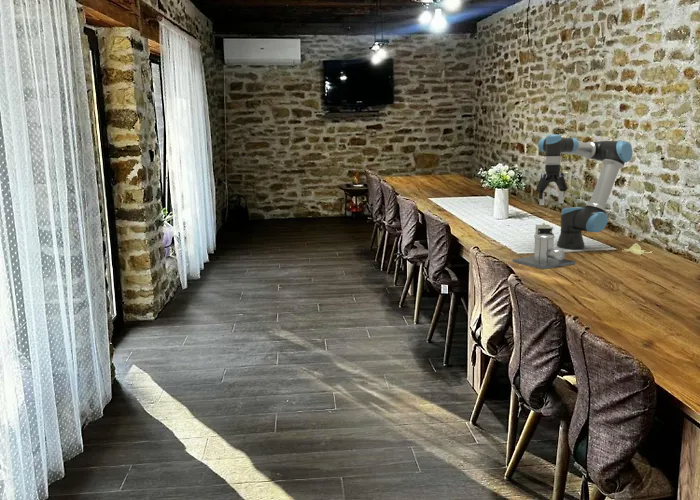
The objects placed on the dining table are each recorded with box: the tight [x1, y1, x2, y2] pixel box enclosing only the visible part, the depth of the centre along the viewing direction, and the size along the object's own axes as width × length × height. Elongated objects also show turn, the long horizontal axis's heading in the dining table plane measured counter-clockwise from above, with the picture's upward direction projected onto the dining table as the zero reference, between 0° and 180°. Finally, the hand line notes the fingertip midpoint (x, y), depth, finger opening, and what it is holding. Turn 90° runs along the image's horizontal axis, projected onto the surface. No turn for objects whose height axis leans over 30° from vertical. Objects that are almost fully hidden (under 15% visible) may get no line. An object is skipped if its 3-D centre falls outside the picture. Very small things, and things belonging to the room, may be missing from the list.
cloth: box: [623, 242, 653, 255], centre depth 343 cm, size 22×19×6 cm
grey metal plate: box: [512, 255, 576, 270], centre depth 315 cm, size 22×22×10 cm
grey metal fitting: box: [533, 233, 566, 262], centre depth 311 cm, size 17×10×13 cm, turn 27°
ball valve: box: [535, 223, 555, 244], centre depth 333 cm, size 18×8×18 cm, turn 168°
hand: (551, 204), depth 325 cm, fingers open, 13 cm apart
